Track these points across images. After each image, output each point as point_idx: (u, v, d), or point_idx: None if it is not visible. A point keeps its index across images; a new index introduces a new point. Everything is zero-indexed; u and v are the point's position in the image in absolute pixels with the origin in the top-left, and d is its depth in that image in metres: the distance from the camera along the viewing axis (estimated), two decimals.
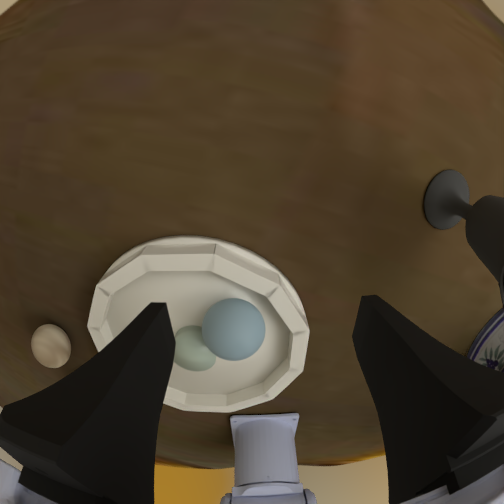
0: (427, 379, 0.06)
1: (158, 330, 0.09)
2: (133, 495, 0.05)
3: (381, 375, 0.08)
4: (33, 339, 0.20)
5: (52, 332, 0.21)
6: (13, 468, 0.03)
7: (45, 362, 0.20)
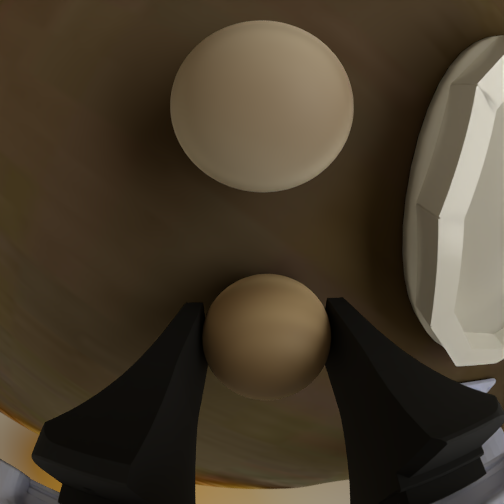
0: (380, 390, 0.06)
1: (198, 331, 0.09)
2: (182, 503, 0.05)
3: (343, 381, 0.08)
4: (243, 24, 0.05)
5: None
6: (13, 468, 0.03)
7: (291, 111, 0.05)
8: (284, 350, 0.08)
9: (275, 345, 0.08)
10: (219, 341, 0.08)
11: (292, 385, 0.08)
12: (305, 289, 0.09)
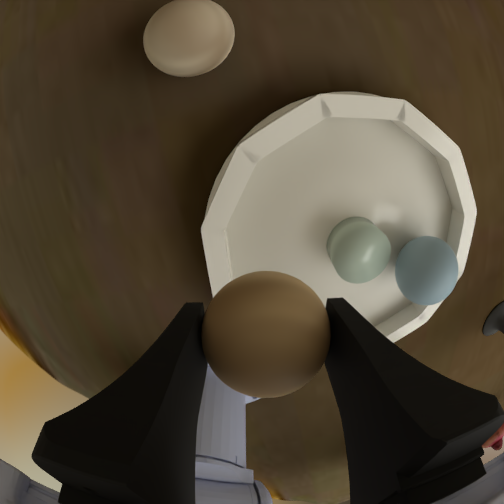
0: (380, 390, 0.06)
1: (198, 331, 0.09)
2: (182, 503, 0.05)
3: (343, 381, 0.08)
4: None
5: (234, 32, 0.11)
6: (13, 468, 0.03)
7: (183, 32, 0.09)
8: (284, 346, 0.08)
9: (275, 342, 0.08)
10: (218, 339, 0.08)
11: (292, 382, 0.08)
12: (304, 285, 0.09)
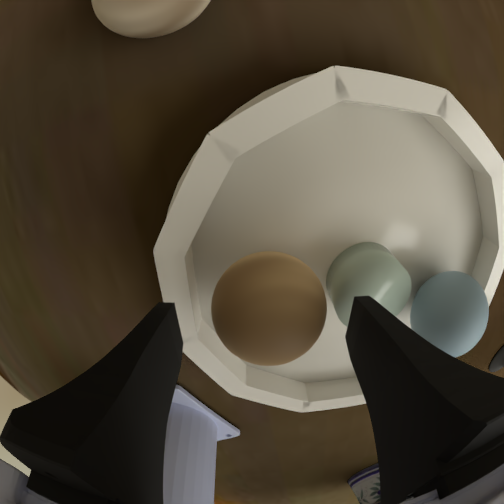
0: (417, 382, 0.06)
1: (167, 330, 0.09)
2: (144, 497, 0.05)
3: (373, 377, 0.08)
4: None
5: None
6: (13, 468, 0.03)
7: None
8: (291, 311, 0.09)
9: (283, 308, 0.09)
10: (232, 310, 0.09)
11: (299, 345, 0.09)
12: (301, 261, 0.10)
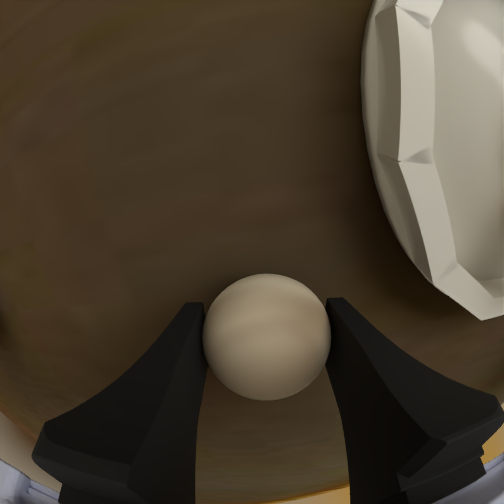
0: (380, 390, 0.06)
1: (198, 331, 0.09)
2: (182, 503, 0.05)
3: (343, 381, 0.08)
4: (215, 338, 0.08)
5: (269, 282, 0.09)
6: (13, 468, 0.03)
7: (285, 383, 0.08)
8: None
9: None
10: None
11: None
12: None
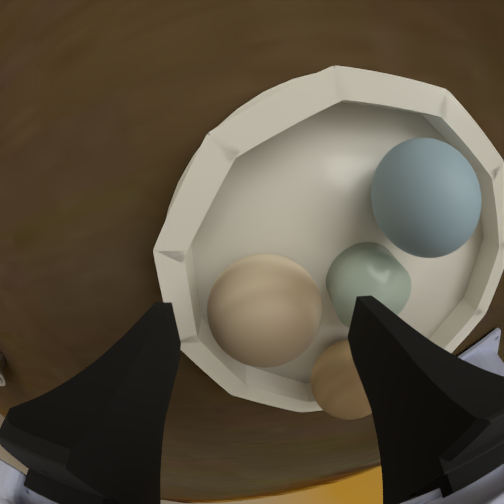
0: (420, 381, 0.06)
1: (164, 330, 0.09)
2: (140, 497, 0.05)
3: (375, 376, 0.08)
4: (220, 307, 0.10)
5: (267, 258, 0.10)
6: (13, 468, 0.03)
7: (282, 347, 0.09)
8: (338, 406, 0.12)
9: (334, 408, 0.12)
10: None
11: (366, 404, 0.11)
12: (321, 364, 0.13)
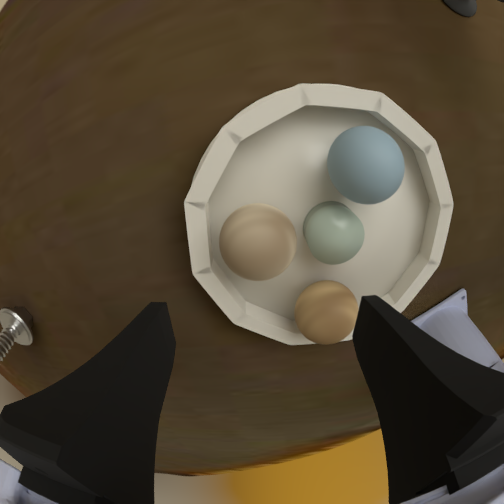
0: (427, 379, 0.06)
1: (158, 330, 0.09)
2: (133, 495, 0.05)
3: (381, 375, 0.08)
4: (228, 233, 0.15)
5: (259, 204, 0.16)
6: (13, 468, 0.03)
7: (268, 257, 0.15)
8: (313, 331, 0.17)
9: (310, 333, 0.18)
10: (310, 340, 0.19)
11: (334, 331, 0.17)
12: (301, 298, 0.18)
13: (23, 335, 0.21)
